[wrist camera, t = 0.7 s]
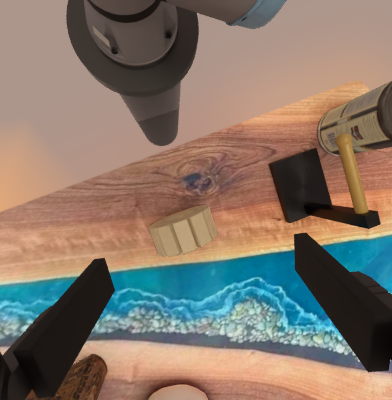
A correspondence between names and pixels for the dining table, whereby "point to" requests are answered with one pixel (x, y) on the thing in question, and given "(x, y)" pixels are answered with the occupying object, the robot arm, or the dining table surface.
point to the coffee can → (360, 122)
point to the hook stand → (320, 188)
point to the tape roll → (183, 231)
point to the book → (80, 381)
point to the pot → (178, 393)
